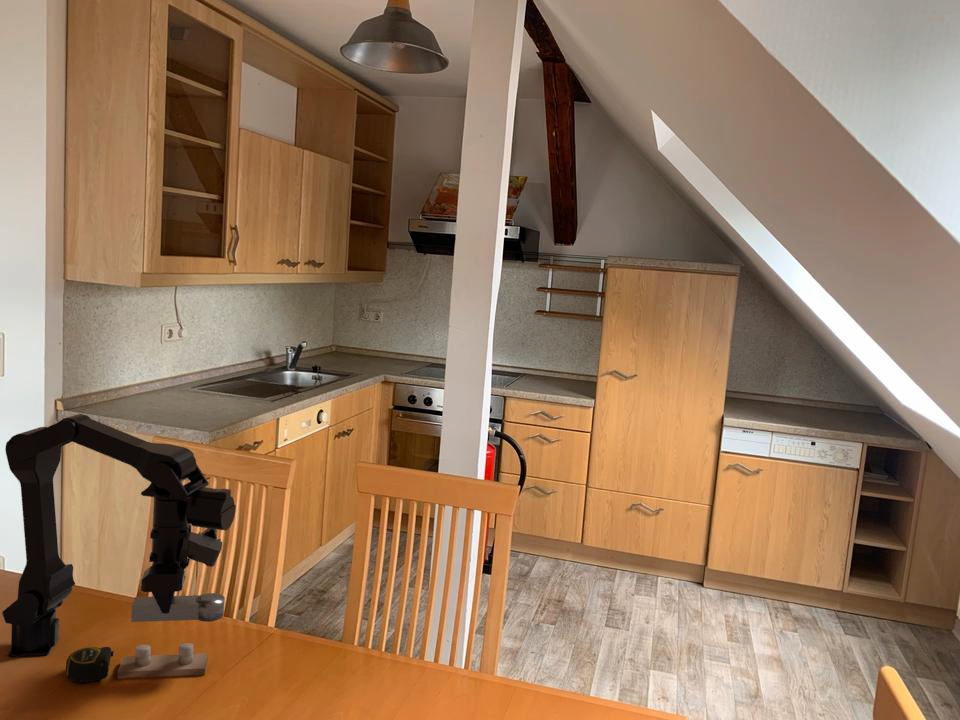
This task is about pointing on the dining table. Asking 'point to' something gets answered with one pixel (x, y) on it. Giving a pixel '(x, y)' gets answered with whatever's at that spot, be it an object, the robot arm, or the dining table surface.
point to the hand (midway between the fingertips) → (167, 608)
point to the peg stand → (163, 663)
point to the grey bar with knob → (180, 608)
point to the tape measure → (88, 664)
